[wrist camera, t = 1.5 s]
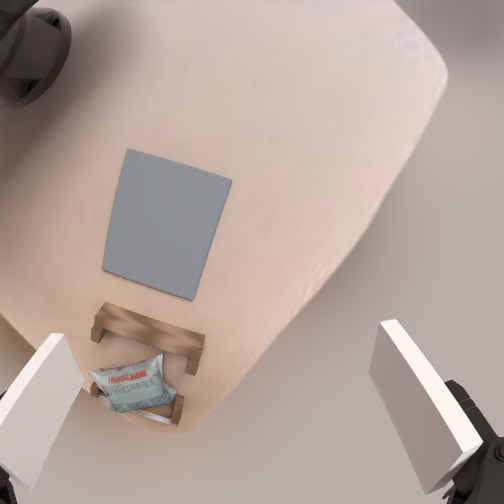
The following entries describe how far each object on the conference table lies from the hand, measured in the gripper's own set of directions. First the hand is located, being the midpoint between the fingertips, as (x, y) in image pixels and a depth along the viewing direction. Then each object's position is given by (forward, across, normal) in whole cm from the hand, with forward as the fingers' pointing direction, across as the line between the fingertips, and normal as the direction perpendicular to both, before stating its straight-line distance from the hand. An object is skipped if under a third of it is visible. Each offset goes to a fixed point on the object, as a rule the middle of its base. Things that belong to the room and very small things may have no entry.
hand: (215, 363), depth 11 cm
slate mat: (+26, -9, -1) cm, 27 cm away
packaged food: (+27, -15, -22) cm, 38 cm away
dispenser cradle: (+25, -15, -22) cm, 37 cm away
